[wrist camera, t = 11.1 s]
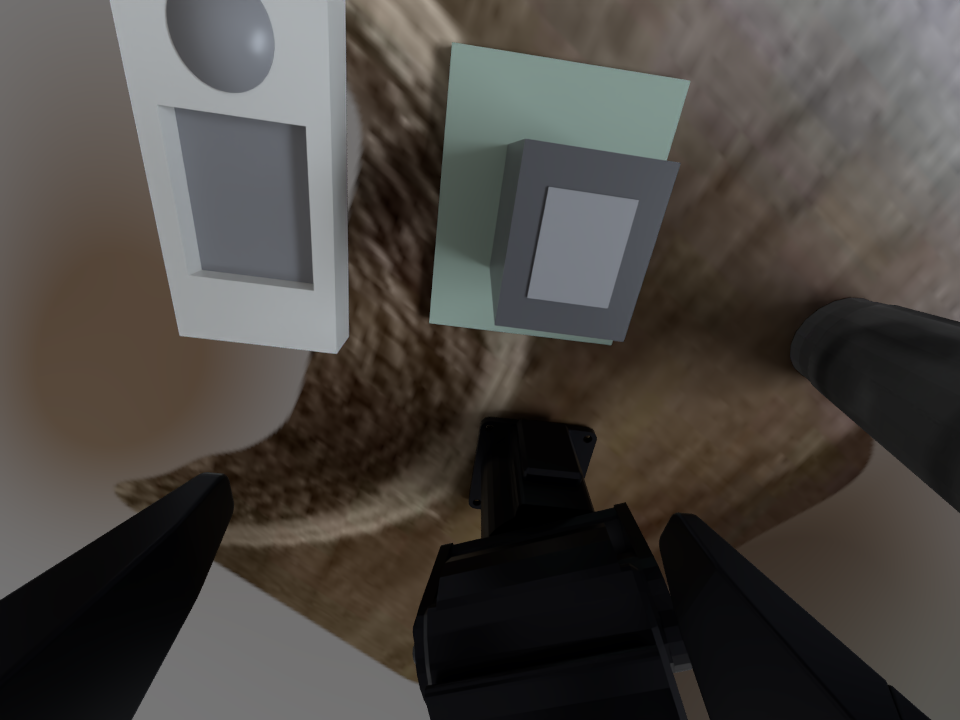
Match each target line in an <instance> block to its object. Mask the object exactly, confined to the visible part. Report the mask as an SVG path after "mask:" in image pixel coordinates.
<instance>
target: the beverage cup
mask: <svg viewBox="0 0 960 720" xmlns="http://www.w3.org/2000/svg"><path fill="white" fill-rule="evenodd" d="M790 358H791V361H792V363H793V366H794V368H795V369H796V370H797V371H799V372H800V373H801V374H802V375H803V376H805V377H806V378H807V379H808V380H809V381H810V382H811V384H812V385H813V386H814V387H815V388H816V389H817V390H818V391H819V392H820V393H821V394H823V395H824V396H825V397H826V398H827V399H828V400H830V401H831V402H832V403H833V404H834V405H835V406H836V407H838V408H839V409H840V410H841V411H842V412H843V413H845V414H846V415H847V416H848V417H849V418H850V419H852V420H853V421H854V422H855V423H856V424H857V425H858V426H860V427H861V428H862V429H863V430H864V431H865V432H867V433H868V434H869V435H870V436H871V437H872V438H874V439H875V440H876V441H877V442H878V443H879V444H880V445H882V446H883V447H884V448H885V449H886V450H887V451H889V452H890V453H891V454H892V455H893V456H894V457H896V458H897V459H898V460H899V461H900V462H901V463H903V464H904V465H905V466H906V467H907V468H908V469H909V470H911V471H912V472H913V473H914V474H915V475H916V476H918V477H919V478H920V479H921V480H922V481H923V482H924V483H926V484H927V485H928V486H929V487H930V488H932V489H933V490H934V491H935V492H936V493H937V494H938V495H940V496H941V497H942V498H943V499H944V500H945V501H946V502H948V503H949V504H950V505H951V506H952V507H953V508H955V509H956V510H957V511H958V512H959V513H960V322H958V321H954V320H950V319H946V318H943V317H939V316H935V315H931V314H927V313H924V312H920V311H916V310H912V309H908V308H904V307H901V306H897V305H887V304H883V303H878V302H872V301H869V300H866V299H864V298H846V299H842V300H838V301H834V302H832V303H830V304H828V305H826V306H824V307H822V308H820V309H818V310H817V311H816V312H815V313H813V314H812V315H811V316H810V317H809V318H807V319H806V320H805V321H804V323H803V324H802V325H801V327H800V328H799V329H798V330H797V332H796V334H795V336H794V339H793V341H792V344H791V351H790Z"/></svg>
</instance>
